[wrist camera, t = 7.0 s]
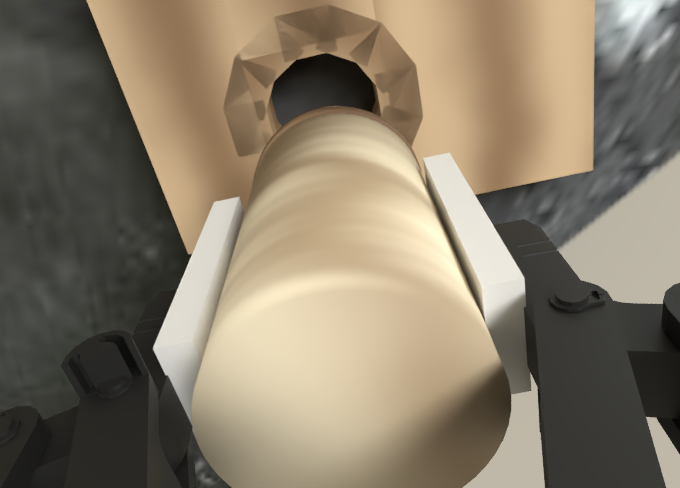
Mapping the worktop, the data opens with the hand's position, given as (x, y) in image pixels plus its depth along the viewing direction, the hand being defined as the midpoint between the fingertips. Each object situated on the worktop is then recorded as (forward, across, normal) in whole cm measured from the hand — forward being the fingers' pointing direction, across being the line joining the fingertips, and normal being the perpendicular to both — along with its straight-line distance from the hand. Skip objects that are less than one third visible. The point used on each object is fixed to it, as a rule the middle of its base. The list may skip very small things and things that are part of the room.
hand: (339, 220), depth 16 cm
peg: (+5, 0, 0) cm, 5 cm away
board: (+15, +2, +2) cm, 15 cm away
